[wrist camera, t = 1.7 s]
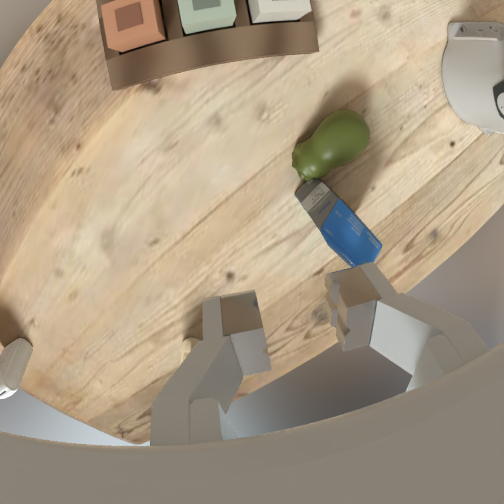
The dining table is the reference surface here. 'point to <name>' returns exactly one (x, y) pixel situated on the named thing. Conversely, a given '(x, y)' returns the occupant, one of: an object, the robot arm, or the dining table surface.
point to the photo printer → (13, 366)
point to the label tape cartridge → (338, 223)
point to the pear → (331, 144)
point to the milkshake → (187, 347)
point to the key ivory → (278, 10)
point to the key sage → (206, 14)
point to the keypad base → (206, 45)
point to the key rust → (132, 23)
